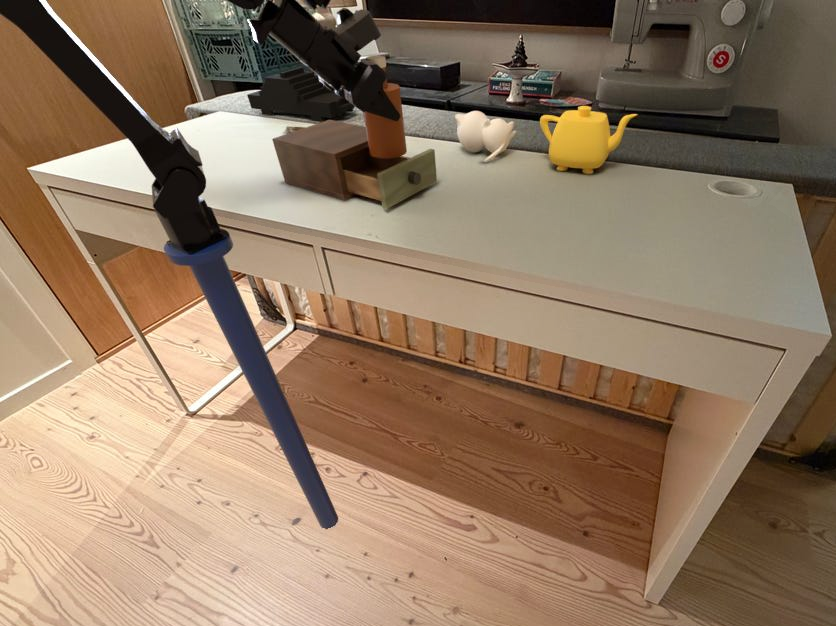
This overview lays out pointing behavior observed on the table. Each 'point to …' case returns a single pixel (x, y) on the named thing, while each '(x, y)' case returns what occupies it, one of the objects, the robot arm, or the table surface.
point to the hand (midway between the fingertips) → (391, 113)
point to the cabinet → (319, 156)
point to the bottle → (386, 123)
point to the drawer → (388, 175)
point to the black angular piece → (298, 96)
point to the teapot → (581, 138)
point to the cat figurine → (483, 133)
